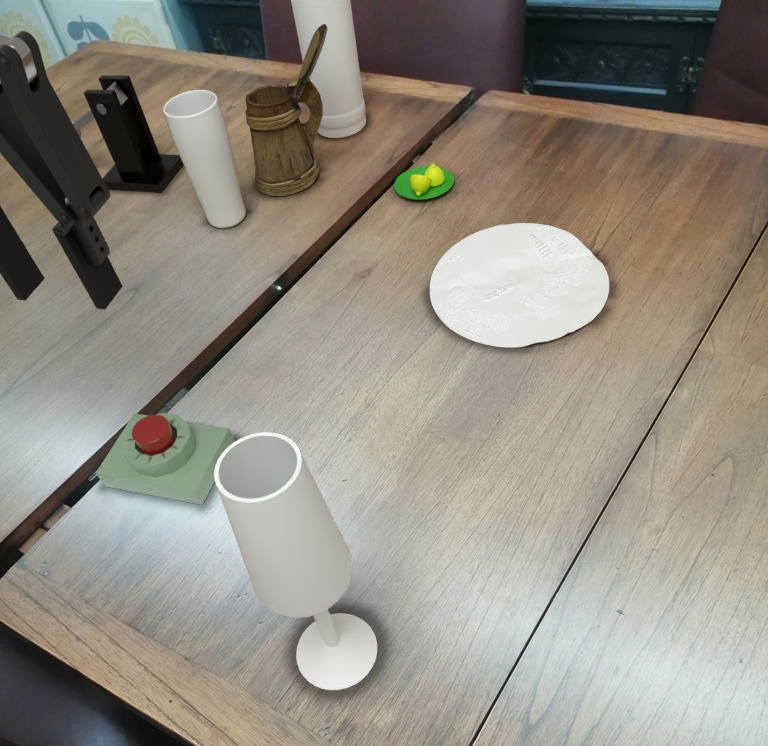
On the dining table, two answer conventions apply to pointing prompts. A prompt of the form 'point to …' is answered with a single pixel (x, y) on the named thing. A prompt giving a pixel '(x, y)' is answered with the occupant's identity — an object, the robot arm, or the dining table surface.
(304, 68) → the wooden mug
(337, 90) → the bottle
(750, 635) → the dining table surface
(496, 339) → the plaque
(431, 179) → the lemon
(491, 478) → the dining table surface
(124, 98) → the lever
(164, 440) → the button
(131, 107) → the lever bracket
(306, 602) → the champagne flute
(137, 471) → the control block
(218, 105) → the drinking glass
